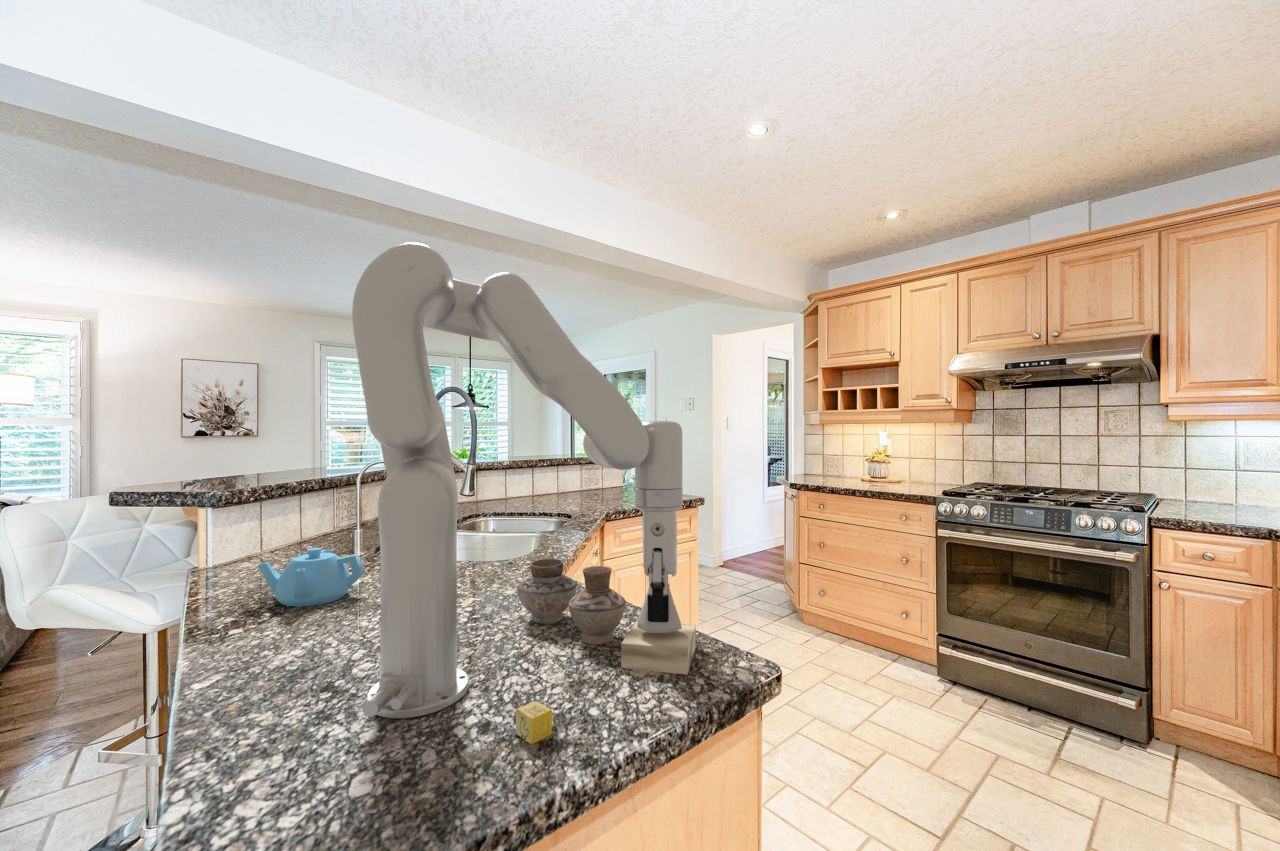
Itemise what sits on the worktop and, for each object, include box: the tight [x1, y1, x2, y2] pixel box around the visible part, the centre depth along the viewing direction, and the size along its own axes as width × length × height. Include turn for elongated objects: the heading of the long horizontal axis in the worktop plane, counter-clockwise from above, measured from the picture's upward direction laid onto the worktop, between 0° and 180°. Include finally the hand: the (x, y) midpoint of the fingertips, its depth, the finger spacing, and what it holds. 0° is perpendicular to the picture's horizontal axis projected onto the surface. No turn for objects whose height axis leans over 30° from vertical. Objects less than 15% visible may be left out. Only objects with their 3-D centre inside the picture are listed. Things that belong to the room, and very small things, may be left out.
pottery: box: [516, 558, 627, 646], centre depth 94 cm, size 11×25×12 cm, turn 47°
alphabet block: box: [515, 700, 553, 745], centre depth 61 cm, size 3×3×3 cm
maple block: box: [620, 619, 697, 675], centre depth 82 cm, size 10×10×4 cm
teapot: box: [257, 547, 366, 607], centre depth 112 cm, size 15×15×11 cm
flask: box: [637, 569, 682, 633], centre depth 82 cm, size 7×7×10 cm
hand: (658, 613), depth 82 cm, fingers closed on flask, 4 cm apart
